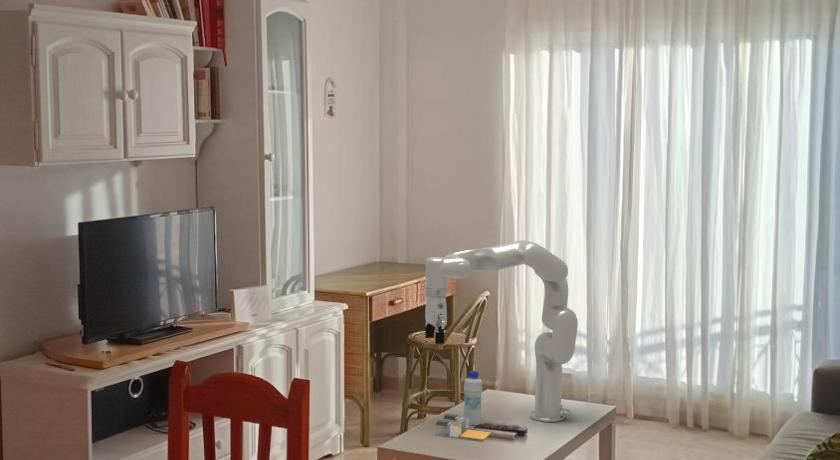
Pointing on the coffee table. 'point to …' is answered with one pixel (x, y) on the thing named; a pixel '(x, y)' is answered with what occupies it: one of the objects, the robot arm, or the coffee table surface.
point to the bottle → (473, 398)
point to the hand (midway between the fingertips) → (434, 340)
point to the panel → (447, 434)
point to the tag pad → (475, 434)
